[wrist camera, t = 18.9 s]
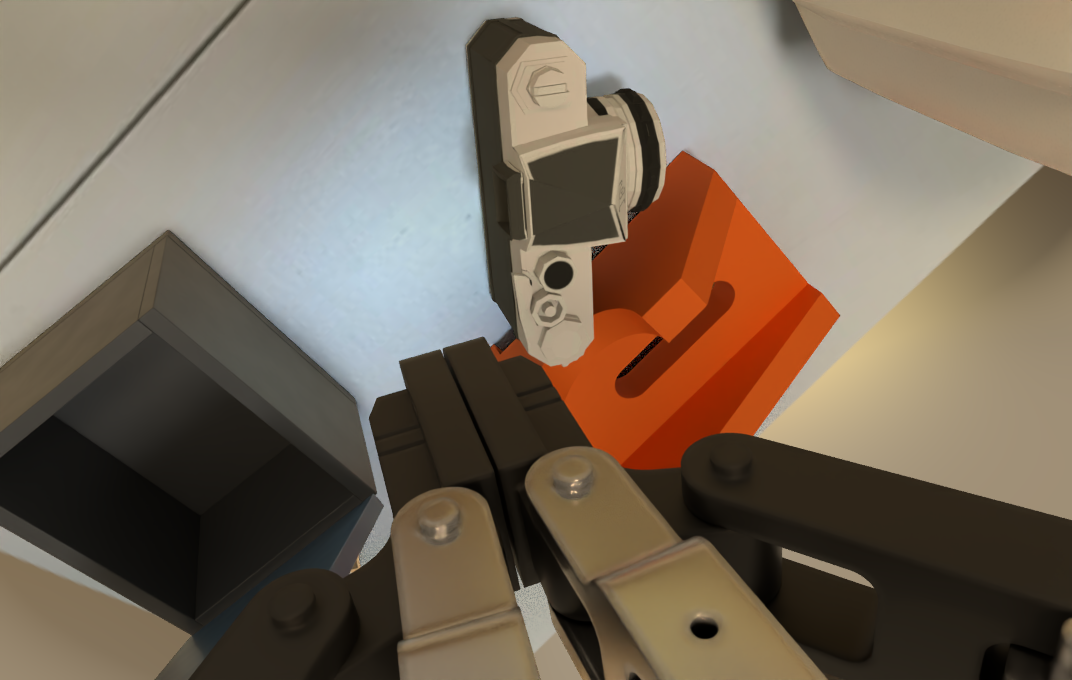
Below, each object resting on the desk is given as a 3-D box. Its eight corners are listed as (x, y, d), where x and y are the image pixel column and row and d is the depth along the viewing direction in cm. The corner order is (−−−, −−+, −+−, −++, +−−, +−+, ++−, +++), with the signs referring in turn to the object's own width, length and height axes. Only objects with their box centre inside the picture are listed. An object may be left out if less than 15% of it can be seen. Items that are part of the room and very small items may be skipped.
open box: (-13, 377, 40) (-68, 487, 33) (168, 229, 40) (153, 307, 32) (200, 521, 48) (194, 637, 40) (355, 398, 47) (377, 493, 40)
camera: (618, 288, 49) (697, 371, 41) (478, 317, 47) (531, 410, 39) (615, 3, 41) (712, 32, 33) (446, 22, 39) (503, 59, 31)
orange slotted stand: (594, 473, 55) (646, 557, 48) (462, 375, 49) (500, 458, 42) (792, 281, 53) (876, 341, 46) (682, 150, 46) (761, 197, 39)
